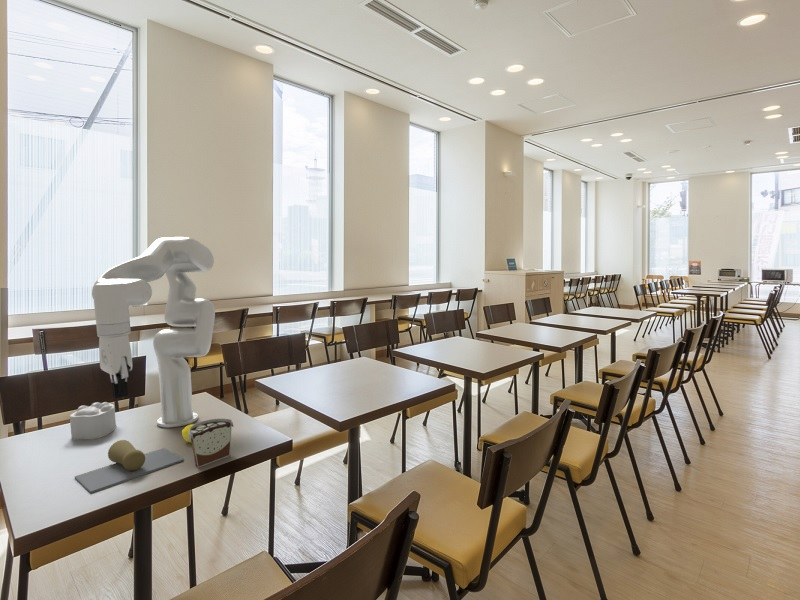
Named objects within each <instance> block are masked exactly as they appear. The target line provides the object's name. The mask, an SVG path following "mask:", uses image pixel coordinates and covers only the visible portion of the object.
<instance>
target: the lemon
mask: <svg viewBox="0 0 800 600" xmlns="http://www.w3.org/2000/svg"><path fill="white" fill-rule="evenodd" d="M195 424H196V423H195ZM195 424H194V423H190V424H188V425H185V427H184V428H183V429H181V434H182V438H183V439H184V441H186V442H187V443H191V441H190V440H189V439H188V433H189V430H190V428H191V427H192V426H193V425H195ZM191 444H192V443H191Z"/></svg>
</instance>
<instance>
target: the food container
mask: <svg viewBox="0 0 800 600" xmlns="http://www.w3.org/2000/svg"><path fill="white" fill-rule="evenodd" d="M232 427H234V422H233V421H232V419H229V418H213V419H211V418H210V419H206V420H202V421H200V422H196V423H195V425H193V426H192V427H191V428H190V430H189V433H188V439H189V440H190V441H191V446H192V447H191V448H192V454H193V459H194V465H195V467H196V469H199V468H202V467H203V466H207V465H209V464H213V463H214V462H218V461H219V460H222V459H225V458H228V457H230V456H231V450H232V449H231V448H232V447H231V446H232V445H231V444H232Z"/></svg>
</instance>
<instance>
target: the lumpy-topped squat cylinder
mask: <svg viewBox="0 0 800 600" xmlns="http://www.w3.org/2000/svg"><path fill="white" fill-rule="evenodd" d="M115 410H116V409H115V405H114V404H112V403H110V402H107V401H104V402H98V401H97V402H93V403H91V405H90V406H89V405H85V404H84V405H80V406H78V408H77V410H76V411H74V412H73V413H71V414H70V415H69V422H70V424H69V425H70V434H71V439H72V440H96V439H99V438H103V437H105V436H107V435H109V434H110V433H112V432H113V431H115V430H116V429H117V423H116V411H115Z"/></svg>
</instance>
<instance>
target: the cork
mask: <svg viewBox="0 0 800 600" xmlns="http://www.w3.org/2000/svg"><path fill="white" fill-rule="evenodd" d="M144 454H145V453H144V452H143V451H142V450H141V449H136V447H134V445H133V444H132V443H131V442H130V441H129V440H125V439H121V440H117V441H115V442H114V443H112V445H110V446H109V449H108V452H107V457H108V459H109V460H110V461H111V462H112V463H114V464H115V463H118V464H121V465H123V466H124V468H125V469H127V470H129V471H135V470H138V469H139V468H141V467H142V466H143V464H144V462H145V455H144Z"/></svg>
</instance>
